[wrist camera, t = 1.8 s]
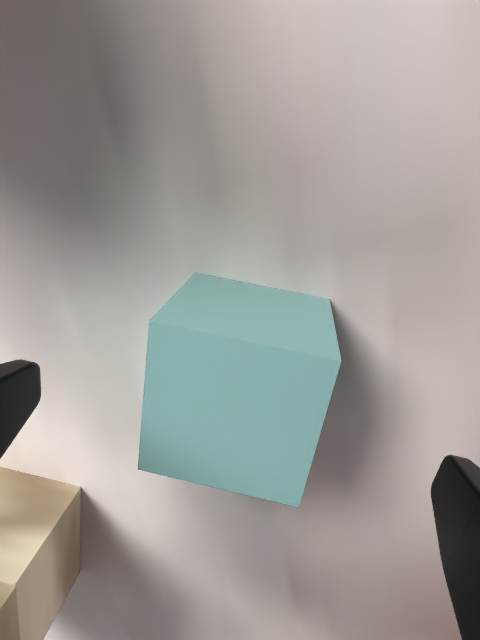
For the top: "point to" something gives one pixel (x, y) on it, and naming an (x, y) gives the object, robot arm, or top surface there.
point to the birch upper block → (8, 612)
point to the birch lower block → (38, 546)
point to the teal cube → (238, 387)
